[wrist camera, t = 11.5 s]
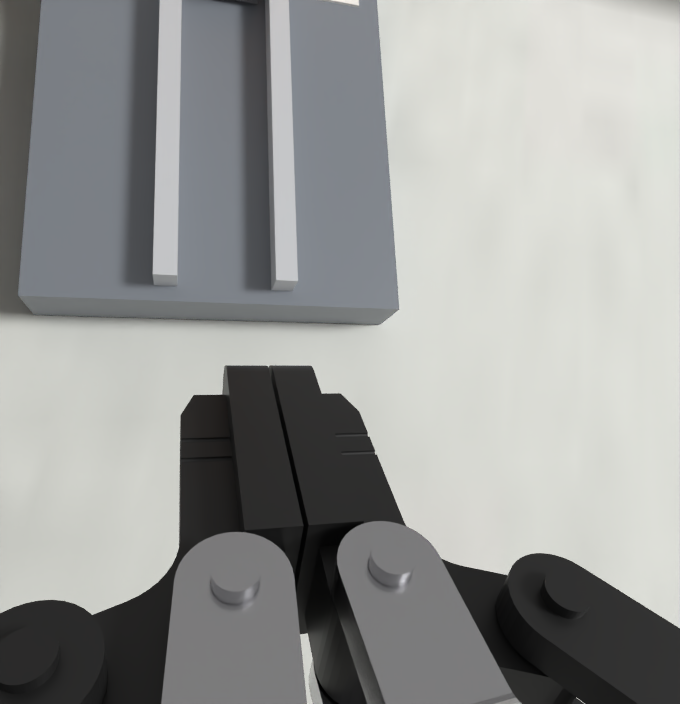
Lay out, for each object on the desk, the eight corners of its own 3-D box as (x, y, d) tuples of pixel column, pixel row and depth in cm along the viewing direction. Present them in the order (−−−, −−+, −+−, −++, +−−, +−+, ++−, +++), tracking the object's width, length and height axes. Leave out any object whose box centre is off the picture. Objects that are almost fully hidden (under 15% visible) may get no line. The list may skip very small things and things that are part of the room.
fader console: (34, 314, 19) (8, 284, 16) (62, -82, 22) (45, -165, 19) (380, 324, 22) (409, 300, 19) (357, -23, 25) (380, -86, 22)
